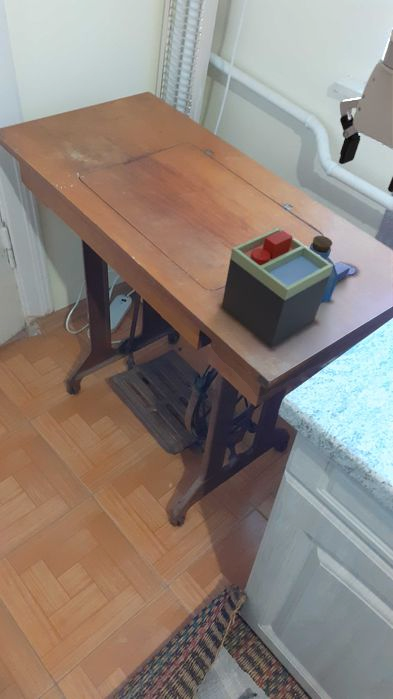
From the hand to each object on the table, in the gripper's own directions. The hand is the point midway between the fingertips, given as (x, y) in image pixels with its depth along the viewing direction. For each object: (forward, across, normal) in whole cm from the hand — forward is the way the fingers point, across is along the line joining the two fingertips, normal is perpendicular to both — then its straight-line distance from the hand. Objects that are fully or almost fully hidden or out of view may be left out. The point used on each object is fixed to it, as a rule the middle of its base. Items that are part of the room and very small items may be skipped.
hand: (369, 175), depth 85 cm
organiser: (+11, 0, +18) cm, 20 cm away
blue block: (+22, 0, -2) cm, 22 cm away
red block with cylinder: (+10, +3, +17) cm, 20 cm away
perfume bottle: (+22, 0, +8) cm, 23 cm away
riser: (+22, 0, +18) cm, 28 cm away
